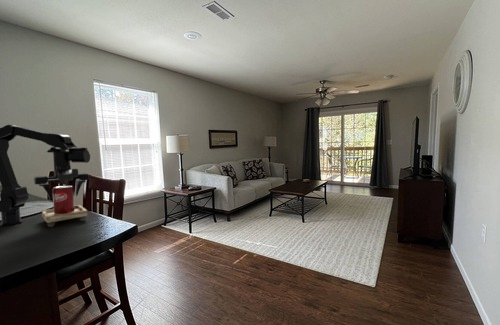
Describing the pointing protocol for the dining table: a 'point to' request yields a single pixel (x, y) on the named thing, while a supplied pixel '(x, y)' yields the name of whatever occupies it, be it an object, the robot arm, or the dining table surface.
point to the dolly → (63, 215)
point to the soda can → (63, 199)
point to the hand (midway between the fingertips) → (63, 197)
